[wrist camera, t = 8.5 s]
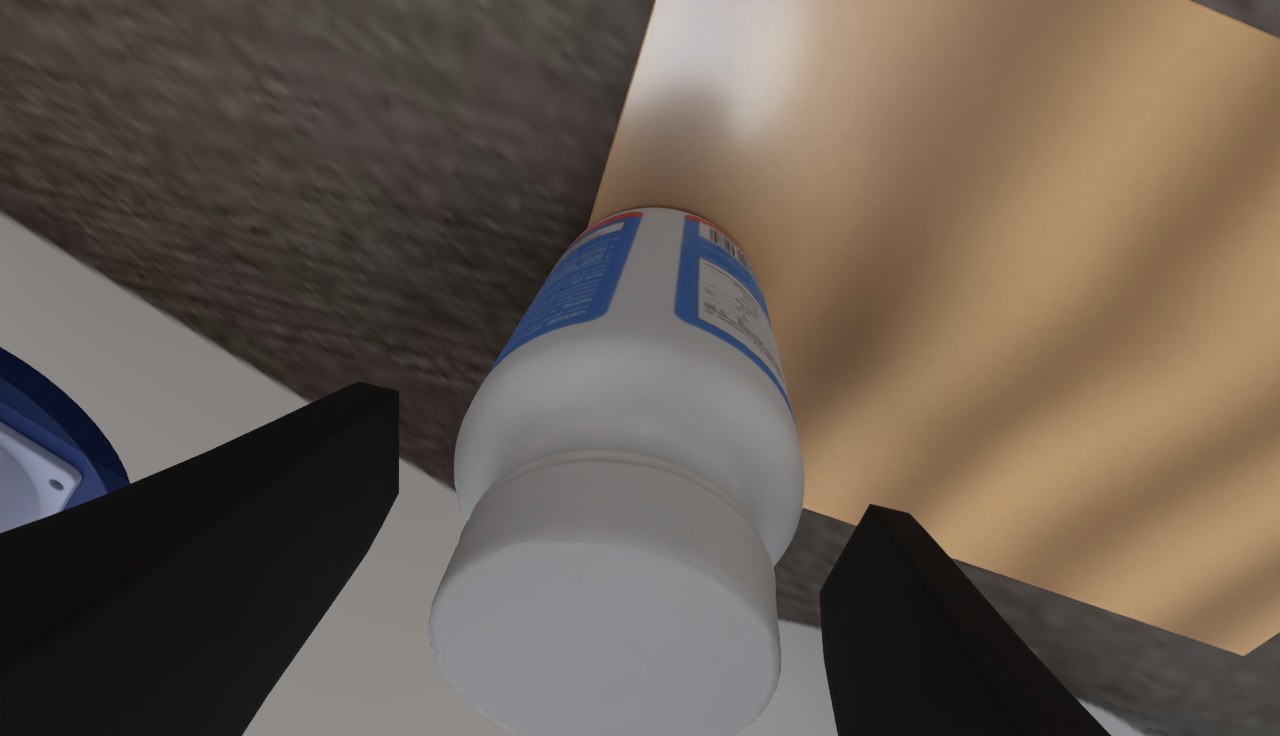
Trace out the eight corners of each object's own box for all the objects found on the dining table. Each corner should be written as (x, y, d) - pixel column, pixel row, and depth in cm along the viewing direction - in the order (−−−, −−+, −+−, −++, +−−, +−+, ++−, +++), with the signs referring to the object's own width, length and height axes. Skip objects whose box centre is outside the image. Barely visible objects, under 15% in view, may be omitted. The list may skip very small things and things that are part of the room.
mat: (535, 407, 17) (531, 417, 17) (714, -194, 10) (714, -204, 10) (1232, 642, 19) (1244, 657, 19) (1786, 260, 12) (1825, 269, 12)
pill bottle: (556, 388, 16) (393, 760, 8) (548, 195, 14) (289, 450, 5) (751, 406, 16) (796, 817, 8) (782, 210, 13) (905, 511, 5)
